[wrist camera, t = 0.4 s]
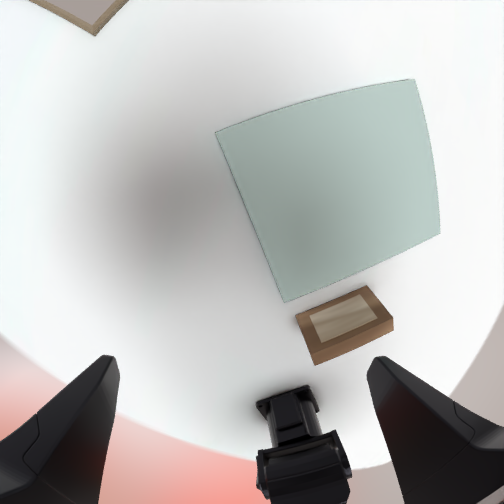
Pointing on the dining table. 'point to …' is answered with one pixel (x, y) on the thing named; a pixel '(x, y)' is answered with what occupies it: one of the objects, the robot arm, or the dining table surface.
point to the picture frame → (84, 11)
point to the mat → (336, 183)
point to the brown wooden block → (344, 324)
